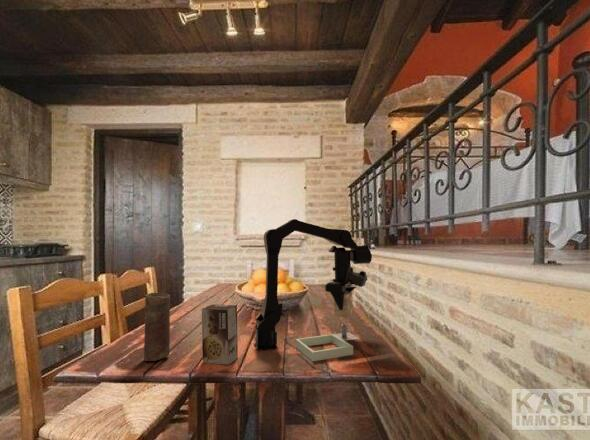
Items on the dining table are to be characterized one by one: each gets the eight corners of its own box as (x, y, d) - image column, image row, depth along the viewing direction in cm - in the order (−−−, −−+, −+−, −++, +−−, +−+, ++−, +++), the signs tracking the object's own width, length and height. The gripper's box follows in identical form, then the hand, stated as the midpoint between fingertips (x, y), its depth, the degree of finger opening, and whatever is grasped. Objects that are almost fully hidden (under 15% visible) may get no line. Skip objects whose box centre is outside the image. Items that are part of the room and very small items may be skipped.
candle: (162, 352, 109) (162, 291, 110) (174, 357, 105) (174, 293, 106) (139, 359, 104) (139, 294, 104) (151, 365, 99) (151, 296, 100)
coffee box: (238, 357, 104) (238, 304, 105) (228, 365, 98) (228, 309, 99) (212, 354, 107) (212, 303, 107) (201, 362, 100) (201, 308, 101)
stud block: (339, 344, 115) (339, 328, 115) (329, 337, 122) (328, 322, 122) (359, 341, 118) (359, 325, 118) (348, 334, 125) (347, 320, 125)
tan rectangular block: (347, 317, 117) (347, 294, 117) (334, 316, 119) (334, 293, 120) (353, 314, 121) (352, 292, 121) (340, 313, 124) (339, 291, 124)
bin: (312, 364, 97) (312, 352, 97) (295, 349, 110) (295, 339, 110) (353, 357, 102) (353, 346, 102) (332, 344, 115) (332, 334, 115)
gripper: (355, 267, 109) (356, 316, 108) (371, 263, 125) (373, 305, 125) (324, 266, 114) (325, 313, 114) (343, 262, 131) (344, 302, 130)
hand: (343, 308), depth 120 cm, fingers closed on tan rectangular block, 5 cm apart
